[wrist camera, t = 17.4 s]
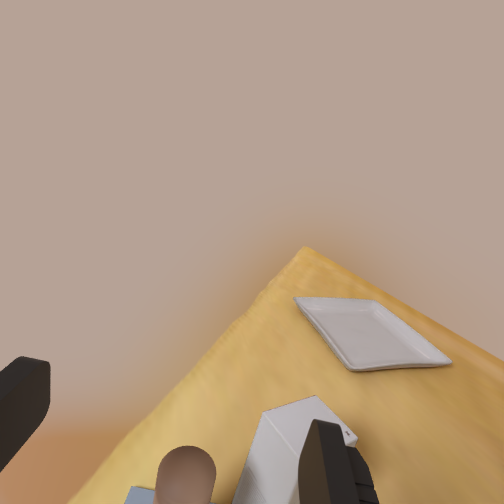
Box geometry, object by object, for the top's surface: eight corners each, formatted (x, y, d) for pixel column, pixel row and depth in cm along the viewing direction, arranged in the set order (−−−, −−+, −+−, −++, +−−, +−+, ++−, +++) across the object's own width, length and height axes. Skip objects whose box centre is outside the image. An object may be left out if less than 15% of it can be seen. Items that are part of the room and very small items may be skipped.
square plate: (288, 308, 85) (291, 295, 84) (371, 310, 94) (376, 298, 93) (345, 382, 61) (351, 365, 60) (449, 375, 70) (456, 360, 69)
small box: (282, 477, 40) (316, 393, 37) (318, 529, 35) (361, 438, 32) (228, 505, 35) (261, 410, 32) (261, 569, 30) (304, 466, 27)
